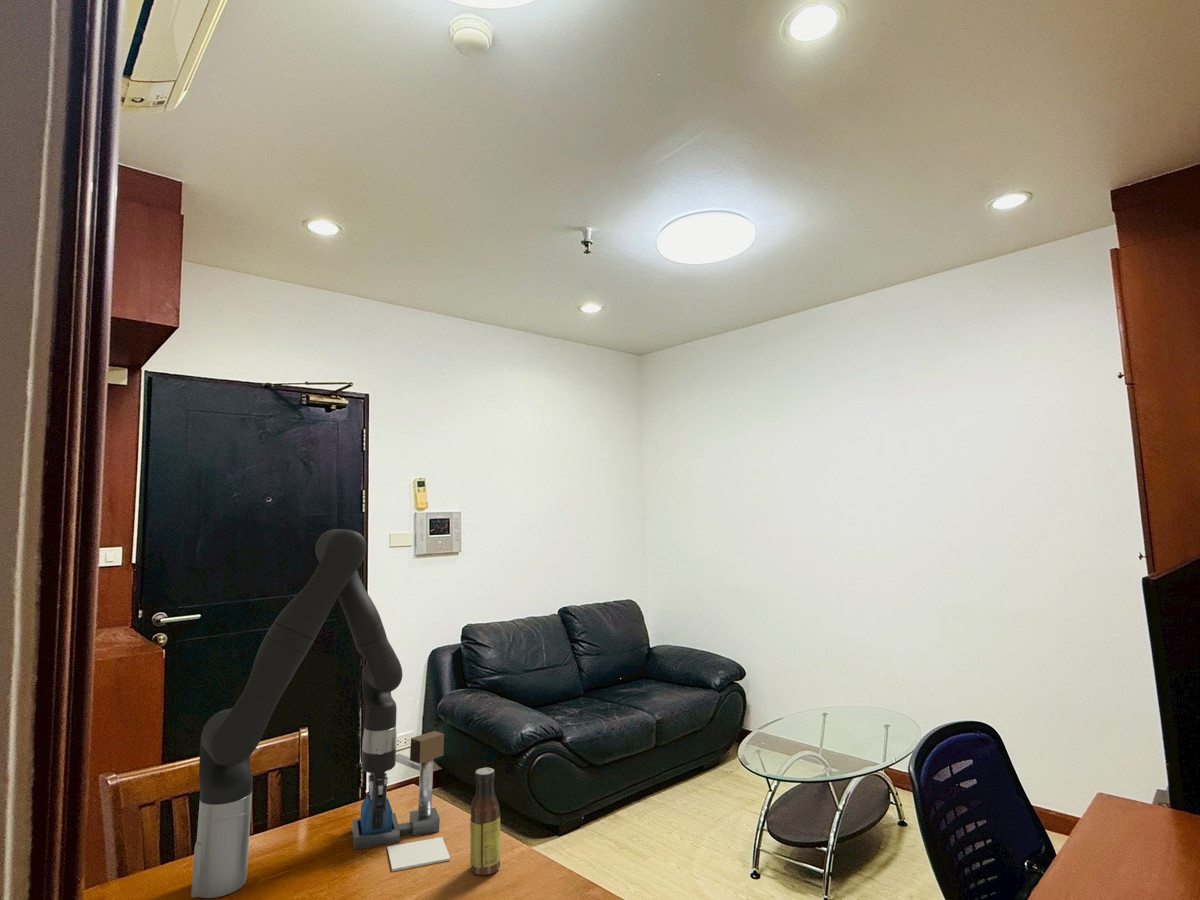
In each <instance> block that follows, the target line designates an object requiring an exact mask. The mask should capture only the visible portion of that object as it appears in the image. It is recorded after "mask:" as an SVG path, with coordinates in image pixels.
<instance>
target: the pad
mask: <svg viewBox="0 0 1200 900" xmlns="http://www.w3.org/2000/svg"><path fill="white" fill-rule="evenodd" d="M387 855H388V859H389V863H390V869H391V872H392V873H393V872H396V871H398V872H399V871H403V870H408V869H413V868H418V867H424V866H429V865H435V864H439V863H445V862H449V861H451V856H450V853H449V851H448V848H447V845H446V843H445V841H444V838H443V836H440V837H434V838H429V839H425V840H424V839H423V840H418V841H413V842H412V841H411V842H408V843H401V844H394V845H390V846H387Z"/></svg>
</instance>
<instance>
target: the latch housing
mask: <svg viewBox="0 0 1200 900" xmlns="http://www.w3.org/2000/svg"><path fill="white" fill-rule="evenodd" d="M439 815H440V814H439V813H438V810H437V808H436V807H431V814H430V815H428V816H419V815H418V809H417V810H411V811H409V822H403V823H399V822H398V818H397V815H396V813H395V812H392V830H388V831H382V832H376V833H370V834H364V835H360V818H361V817H359V818H354V819H352V821H351V822H352V825H351V833H352V842H353V843H352V844H353V850H354V851H357V850H362V849H368V848H374V847H379V846H386V845H391V844H396V843H400V836H403V835H409V834H411V835H412V837H415V836H420V835H421V836H422V835H427V834H428V835H429V834H434V833H438V832H440V821H441V819H440V816H439Z"/></svg>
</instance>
